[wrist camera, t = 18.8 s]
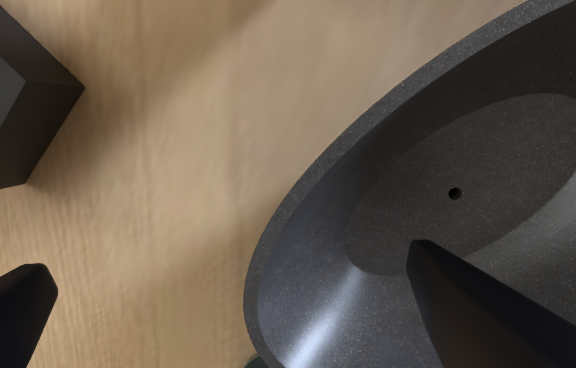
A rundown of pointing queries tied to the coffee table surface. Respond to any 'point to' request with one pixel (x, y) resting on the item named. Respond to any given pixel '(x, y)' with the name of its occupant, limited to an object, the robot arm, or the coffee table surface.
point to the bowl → (429, 200)
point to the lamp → (29, 100)
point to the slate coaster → (255, 362)
